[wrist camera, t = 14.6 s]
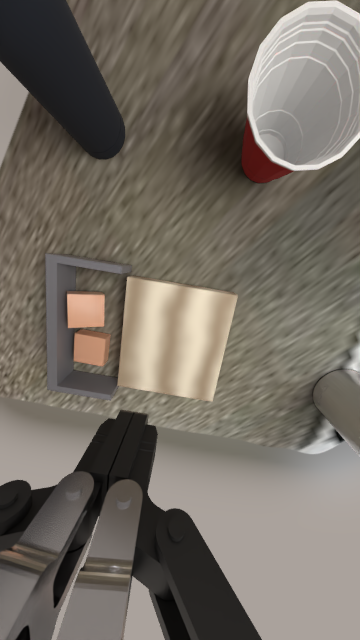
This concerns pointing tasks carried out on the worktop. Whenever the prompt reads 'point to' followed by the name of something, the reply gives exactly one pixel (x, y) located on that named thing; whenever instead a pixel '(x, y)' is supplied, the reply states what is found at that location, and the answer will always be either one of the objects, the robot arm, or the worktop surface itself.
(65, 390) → the box
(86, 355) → the terracotta tile
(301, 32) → the plastic cup
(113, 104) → the wine bottle
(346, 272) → the worktop surface
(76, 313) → the terracotta tile
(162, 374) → the birch board
